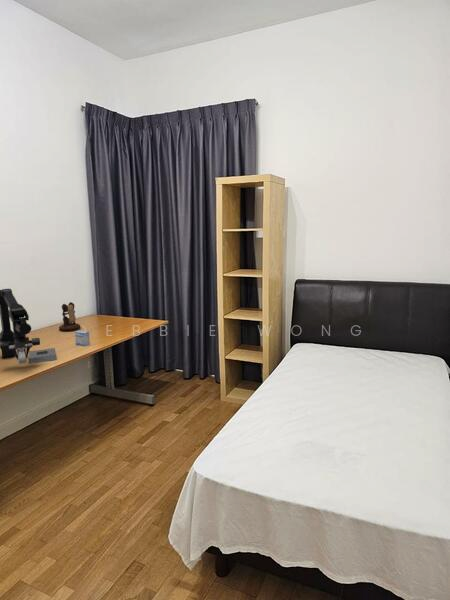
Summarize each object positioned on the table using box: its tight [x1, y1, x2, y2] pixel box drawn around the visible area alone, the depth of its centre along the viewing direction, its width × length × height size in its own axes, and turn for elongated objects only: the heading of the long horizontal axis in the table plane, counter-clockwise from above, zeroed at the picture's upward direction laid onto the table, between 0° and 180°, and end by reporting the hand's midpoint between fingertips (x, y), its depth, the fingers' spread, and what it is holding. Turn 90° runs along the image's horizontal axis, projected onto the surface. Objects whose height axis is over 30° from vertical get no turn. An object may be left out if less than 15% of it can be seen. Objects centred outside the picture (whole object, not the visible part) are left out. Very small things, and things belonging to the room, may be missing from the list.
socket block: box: [28, 347, 57, 364], centre depth 226 cm, size 14×14×3 cm
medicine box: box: [74, 330, 91, 347], centre depth 251 cm, size 8×4×9 cm, turn 69°
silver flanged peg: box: [16, 345, 28, 365], centre depth 210 cm, size 5×5×9 cm
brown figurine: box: [58, 301, 81, 332], centre depth 288 cm, size 15×15×20 cm
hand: (22, 358), depth 211 cm, fingers closed on silver flanged peg, 4 cm apart
